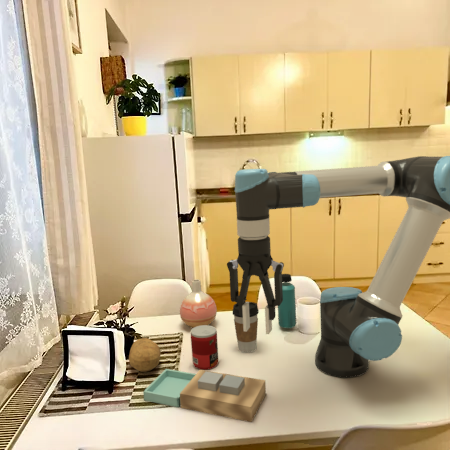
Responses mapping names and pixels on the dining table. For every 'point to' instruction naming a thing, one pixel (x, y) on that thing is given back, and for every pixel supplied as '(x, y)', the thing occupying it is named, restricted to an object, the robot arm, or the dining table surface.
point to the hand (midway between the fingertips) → (257, 330)
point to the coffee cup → (250, 337)
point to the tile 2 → (232, 384)
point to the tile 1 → (210, 381)
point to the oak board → (224, 399)
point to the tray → (168, 387)
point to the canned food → (204, 347)
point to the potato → (144, 355)
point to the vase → (197, 307)
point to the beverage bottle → (287, 304)
